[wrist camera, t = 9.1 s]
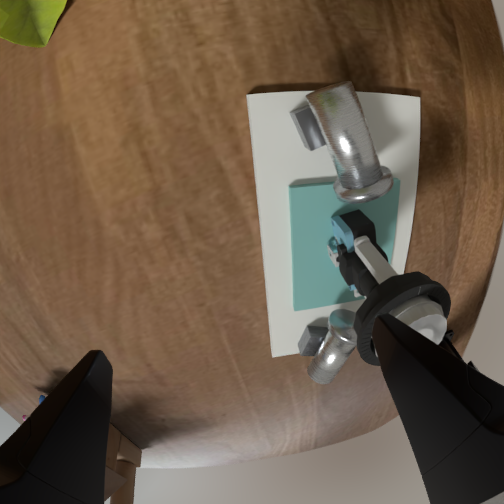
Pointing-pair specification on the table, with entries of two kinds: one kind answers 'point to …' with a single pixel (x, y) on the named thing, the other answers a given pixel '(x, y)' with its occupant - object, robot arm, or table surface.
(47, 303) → the table surface
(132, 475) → the wooden block
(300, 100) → the white rectangular board
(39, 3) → the artificial plant
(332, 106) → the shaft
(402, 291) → the push button
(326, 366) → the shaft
